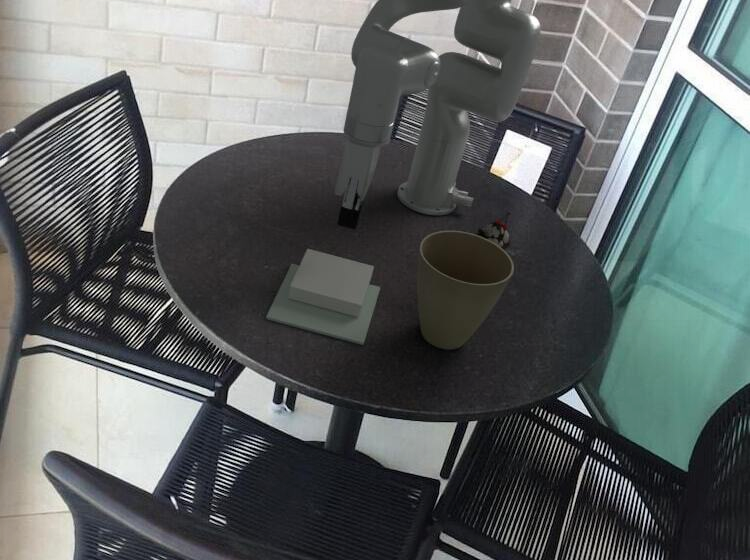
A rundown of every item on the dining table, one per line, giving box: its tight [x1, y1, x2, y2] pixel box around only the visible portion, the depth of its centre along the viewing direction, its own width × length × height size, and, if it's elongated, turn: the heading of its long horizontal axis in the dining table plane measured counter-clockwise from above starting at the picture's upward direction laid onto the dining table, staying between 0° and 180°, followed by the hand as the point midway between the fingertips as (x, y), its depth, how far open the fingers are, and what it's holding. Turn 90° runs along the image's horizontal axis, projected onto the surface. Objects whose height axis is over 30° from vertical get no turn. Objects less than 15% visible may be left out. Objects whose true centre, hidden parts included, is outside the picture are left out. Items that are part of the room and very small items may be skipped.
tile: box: [288, 248, 375, 317], centre depth 137 cm, size 12×3×12 cm
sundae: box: [474, 212, 513, 251], centre depth 145 cm, size 7×7×15 cm
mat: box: [265, 263, 381, 346], centre depth 135 cm, size 16×16×1 cm
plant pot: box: [416, 230, 515, 350], centre depth 130 cm, size 15×15×16 cm
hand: (347, 225), depth 138 cm, fingers closed
